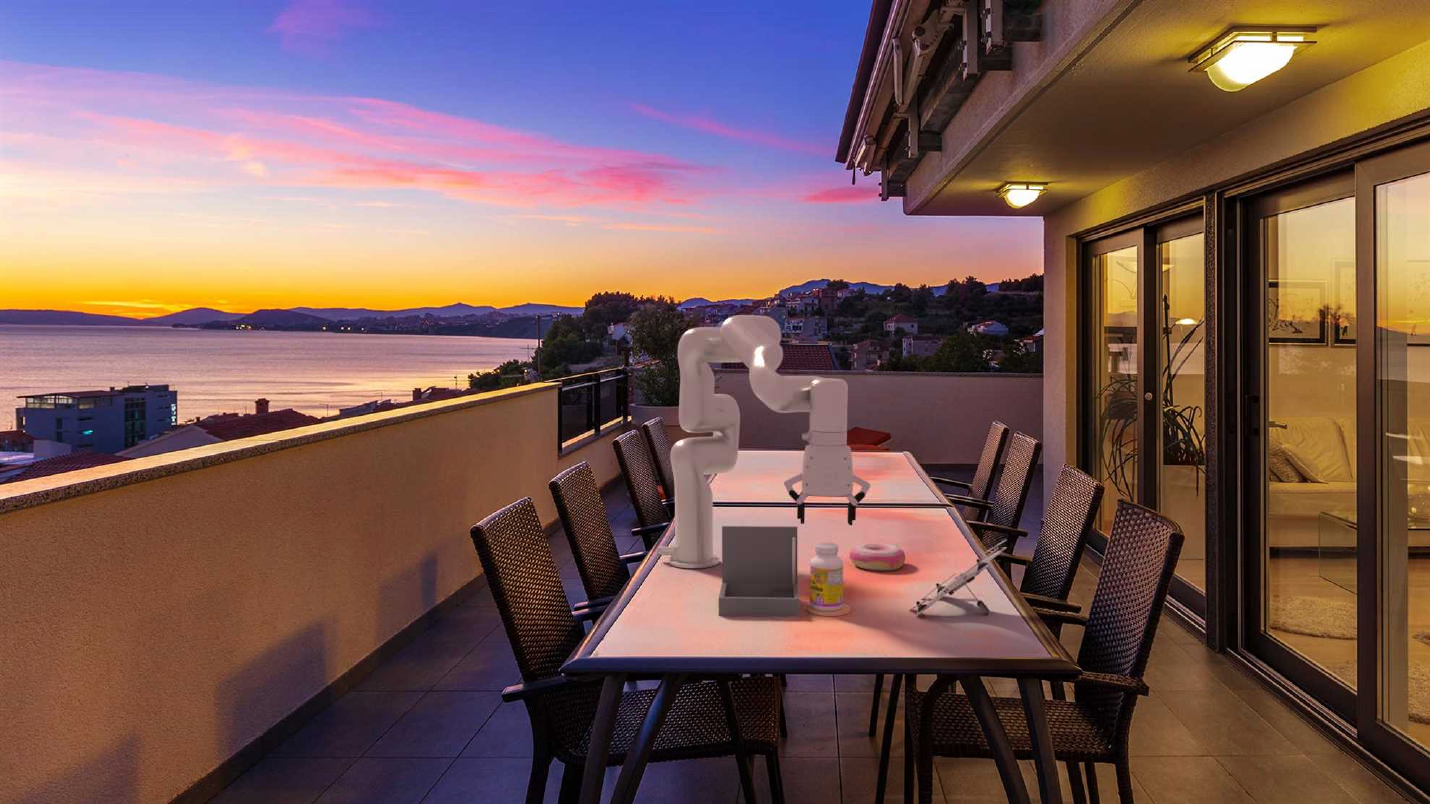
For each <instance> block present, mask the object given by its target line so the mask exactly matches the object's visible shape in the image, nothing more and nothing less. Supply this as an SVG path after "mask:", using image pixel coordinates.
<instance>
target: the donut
mask: <svg viewBox="0 0 1430 804" xmlns="http://www.w3.org/2000/svg"><path fill="white" fill-rule="evenodd" d="M849 559H850V561H851V563H852V564H853V565H855V566H856V567H858V568H860V569H864V570H869V571H877V572H889V571H894V570H897V569H899V568H901V567H902V566H903V565H904V563H905V561H906V554H905V552H904V550H903V549H902V548H900V547H899V546H897V545H894V544H891V543H886V542H885V543H884V542H865V543H860V544H857V545H855V546H853V547H852V548H851V550H850V552H849Z"/></svg>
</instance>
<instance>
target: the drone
mask: <svg viewBox="0 0 1430 804" xmlns="http://www.w3.org/2000/svg"><path fill="white" fill-rule="evenodd" d="M1006 541H1008V540H1007V539H1003V540H1002V541H1001V542H999V543H997V544H995V543H992V544H991V546H992V547H991V548H989V549H988V550H986V551H985V552H983V554H984V555H985V554H987V553H988V552H990V551H991V552H990V553H989V554H987V555H986V556H985V557H983V558H982V559H979V558H977V559H976V563H975V564H974V565H973V566H971V567H970V568H969V569H967V570H965V571H964V572H961V573H960V574H957V572H956V573H954V574H952V575H950V576H949V577H948V578H947V579H945V580H944V581H943V582H941V583H938V582H937V583H936V584H935V585H936V587H934V589H932V590H931V591H929V592H928V593H927V594H926V595H924V596H923V597H922V598H921V599H920V600H923V599H925V598H926V599H925V600H923V601H921V602H920V601H918V600H917V601H915V602H916V605H914V606H912V607H911V608H909V611H912V610H914V609H915V608H917V613H916V617H918V616H919V615H921V614H923V612H925V611H926V610H928V609H929V608H930V607H932V606H934V604H935V603H937V602H938V601H940V599H942V598H943V597H944V596H946V595H947V594H948V595H949V596H952V595H954V594H955V592H957V591H958V590H960V589H961V588H963V587H964V586H965V587H966V588H967V589H968V591H969V592H970V593H971V595H972V597H974V598H975V600H976V601H977V603H976V606H977V607H978V608H979V610H980V612H982V613H983V615H985V616H988V615H989V614H990V612H991V611H990V609H989V607H988V606H987V605H986V604H985V603H984V601H983V600H979V599H978V598H977V596H975V594H974V593H973V592H972V590H971V589H970V588H969V586H968V583H971V582H972V581H974V580H975V579H976V576H979V575H980V574H981V572H983V571H984V570H986V569H987V568H988V567H990V566H991V565H992V564H993V563H992V562H990V561H992V560H994V558H996V557H997V556H999V554H1001V553H1002V552H1004V551H1005V550H1006V549H1007V546H1006V547H1005V546H1004V547H1003V546H1000V545H1001V544H1003V543H1005V542H1006ZM992 550H993V551H992ZM955 575H957V576H955ZM954 576H955V577H954ZM952 577H954V579H953V580H951V582H949V583H948V584H946V585H945V586H942V585H944V583H947V581H948V580H950V579H951V578H952ZM935 590H937V592H936V595H935V596H934V597H933V598H932V599H931V600H930V597H928V598H927V596H929V595H930V594H931V593H933V592H934V591H935ZM929 600H930V601H929ZM926 602H928V603H926ZM925 603H926V604H925Z"/></svg>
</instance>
